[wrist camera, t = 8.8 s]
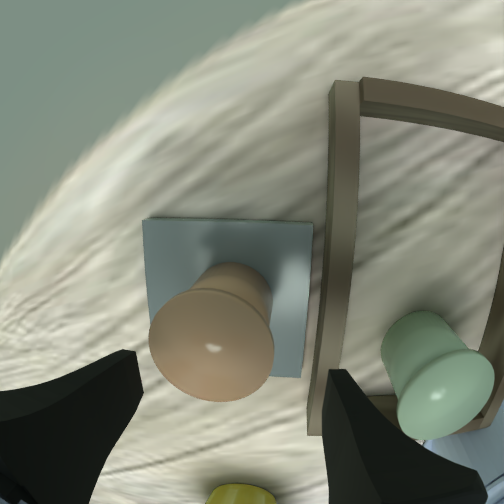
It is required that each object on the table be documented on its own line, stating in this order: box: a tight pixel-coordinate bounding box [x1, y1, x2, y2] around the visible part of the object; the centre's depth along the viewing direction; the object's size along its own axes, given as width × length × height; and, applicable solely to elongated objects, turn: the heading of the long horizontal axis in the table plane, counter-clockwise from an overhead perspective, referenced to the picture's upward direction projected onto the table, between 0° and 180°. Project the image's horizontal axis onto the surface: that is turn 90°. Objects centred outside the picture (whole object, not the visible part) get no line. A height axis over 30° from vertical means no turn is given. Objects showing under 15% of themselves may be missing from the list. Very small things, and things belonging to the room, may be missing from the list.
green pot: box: [381, 311, 495, 440], centre depth 16 cm, size 6×6×6 cm
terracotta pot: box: [149, 262, 275, 402], centre depth 16 cm, size 6×6×6 cm
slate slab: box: [142, 218, 313, 378], centre depth 20 cm, size 10×10×1 cm
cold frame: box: [307, 77, 504, 441], centre depth 16 cm, size 21×14×4 cm
